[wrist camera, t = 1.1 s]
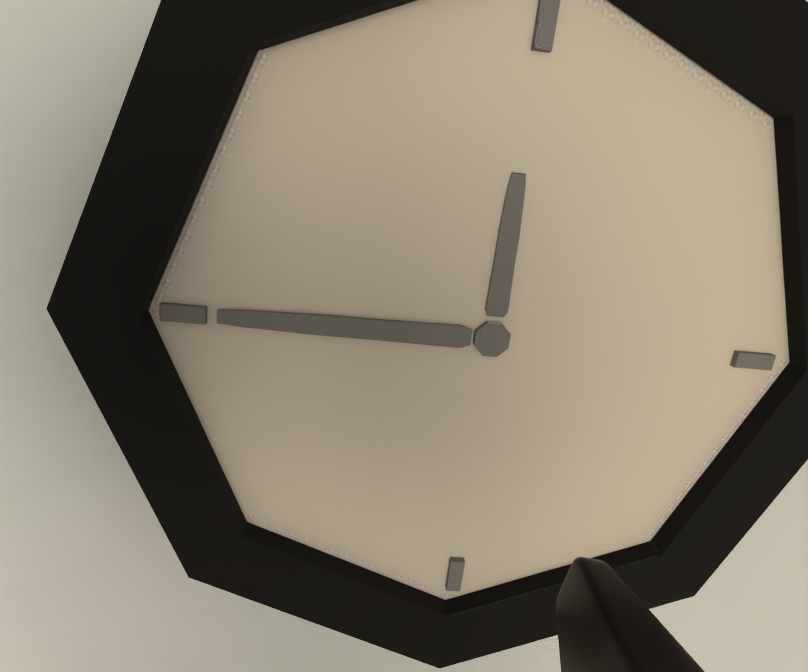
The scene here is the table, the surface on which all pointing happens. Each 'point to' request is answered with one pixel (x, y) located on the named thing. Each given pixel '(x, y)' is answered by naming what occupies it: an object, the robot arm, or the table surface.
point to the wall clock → (452, 300)
